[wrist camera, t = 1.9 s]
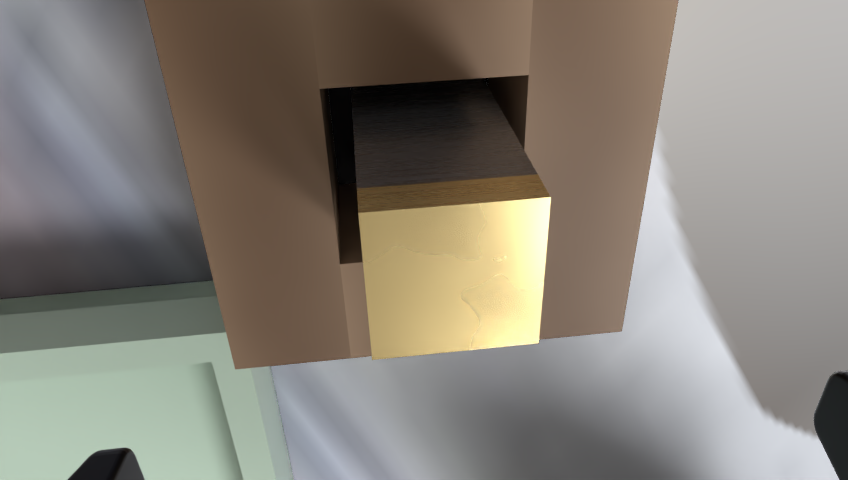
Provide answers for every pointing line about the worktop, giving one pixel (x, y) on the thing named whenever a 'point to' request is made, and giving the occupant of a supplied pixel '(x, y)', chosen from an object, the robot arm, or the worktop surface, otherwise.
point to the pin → (446, 220)
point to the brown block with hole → (337, 203)
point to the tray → (133, 387)
